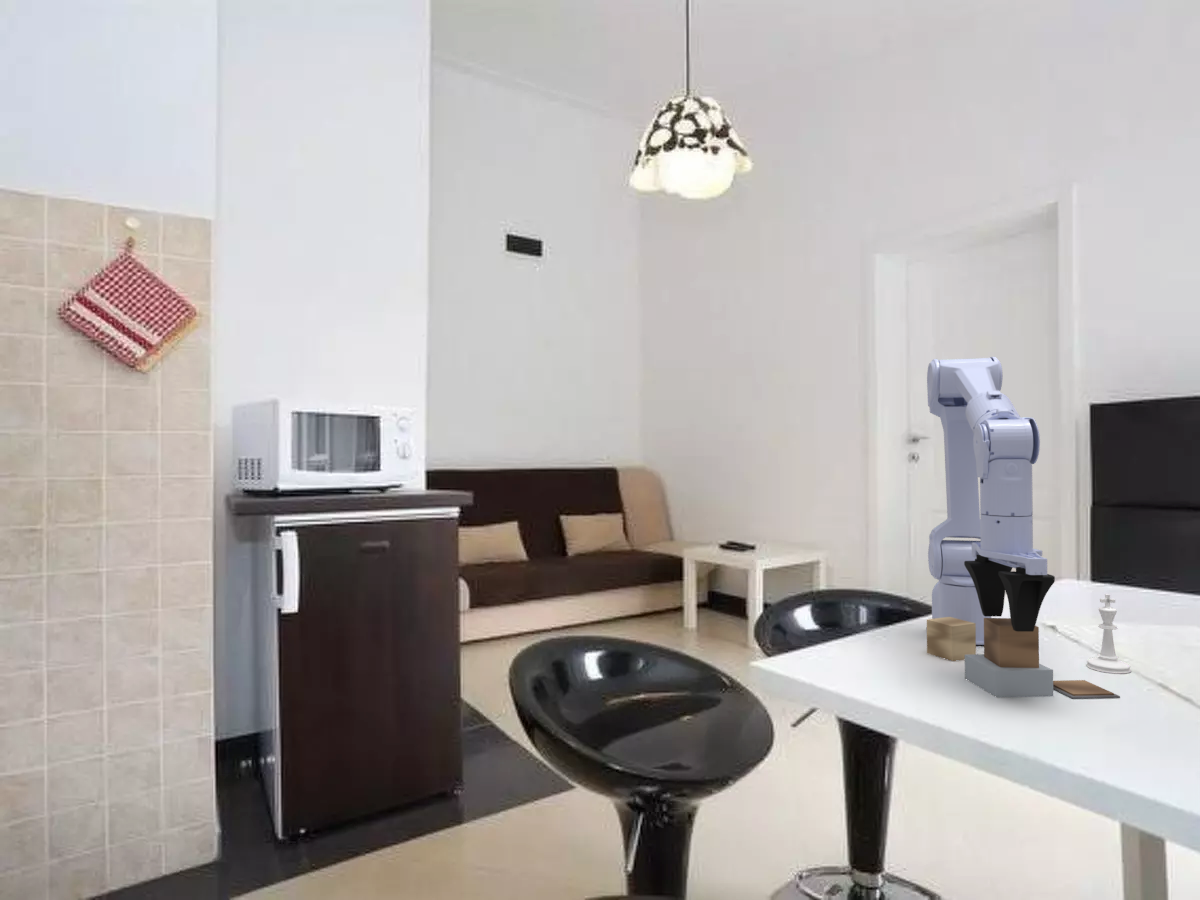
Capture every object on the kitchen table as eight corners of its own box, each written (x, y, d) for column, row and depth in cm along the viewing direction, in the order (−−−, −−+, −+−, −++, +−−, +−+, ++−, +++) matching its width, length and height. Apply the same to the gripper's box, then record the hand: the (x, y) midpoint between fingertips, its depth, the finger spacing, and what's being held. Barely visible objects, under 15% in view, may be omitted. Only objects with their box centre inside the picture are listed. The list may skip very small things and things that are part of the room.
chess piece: (1138, 674, 94) (1137, 598, 94) (1096, 672, 95) (1095, 597, 95) (1119, 664, 98) (1118, 591, 99) (1079, 662, 99) (1078, 590, 100)
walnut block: (984, 656, 92) (983, 617, 92) (1021, 657, 91) (1020, 618, 91) (1000, 667, 87) (999, 626, 87) (1039, 668, 87) (1038, 627, 87)
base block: (964, 681, 93) (964, 654, 93) (1017, 680, 93) (1017, 653, 93) (996, 700, 86) (995, 671, 86) (1053, 698, 86) (1053, 669, 86)
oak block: (926, 653, 105) (926, 619, 105) (949, 650, 106) (949, 616, 106) (952, 661, 100) (952, 626, 100) (975, 658, 102) (975, 623, 102)
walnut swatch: (1040, 683, 91) (1040, 679, 91) (1085, 682, 91) (1085, 679, 91) (1072, 698, 85) (1072, 695, 85) (1119, 697, 85) (1119, 694, 85)
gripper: (1074, 520, 82) (1075, 638, 82) (1009, 509, 96) (1010, 610, 96) (1011, 520, 82) (1012, 638, 82) (955, 509, 97) (956, 609, 97)
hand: (1007, 623), depth 89 cm, fingers open, 7 cm apart
